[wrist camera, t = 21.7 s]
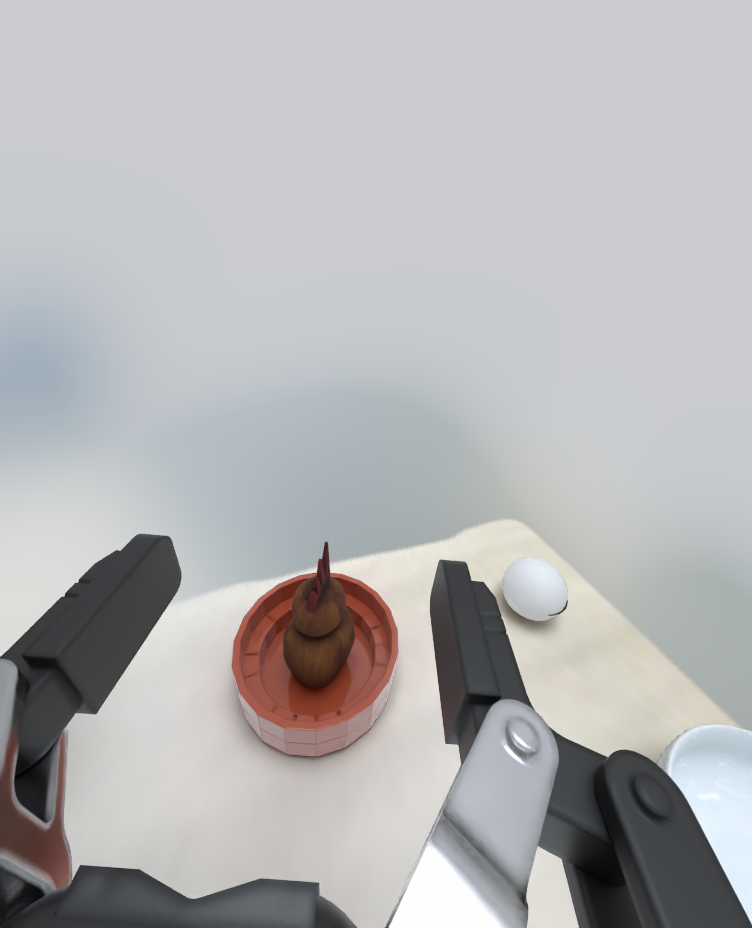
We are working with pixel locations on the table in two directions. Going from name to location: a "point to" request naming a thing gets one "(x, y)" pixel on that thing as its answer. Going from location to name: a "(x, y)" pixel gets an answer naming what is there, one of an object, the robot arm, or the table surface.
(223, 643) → the table surface
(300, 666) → the wooden figurine
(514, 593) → the white oval solid
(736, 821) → the cereal bowl
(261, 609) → the bowl
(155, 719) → the table surface
